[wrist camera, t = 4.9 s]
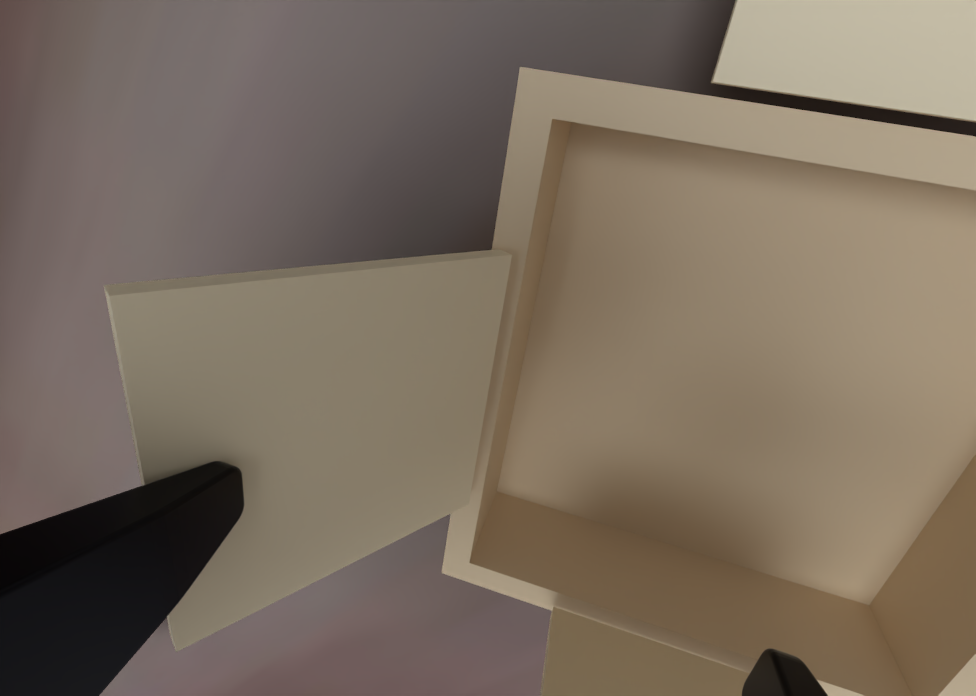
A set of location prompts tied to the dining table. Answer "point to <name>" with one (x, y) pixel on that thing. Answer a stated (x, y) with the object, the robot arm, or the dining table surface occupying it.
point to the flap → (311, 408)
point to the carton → (746, 354)
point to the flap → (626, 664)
